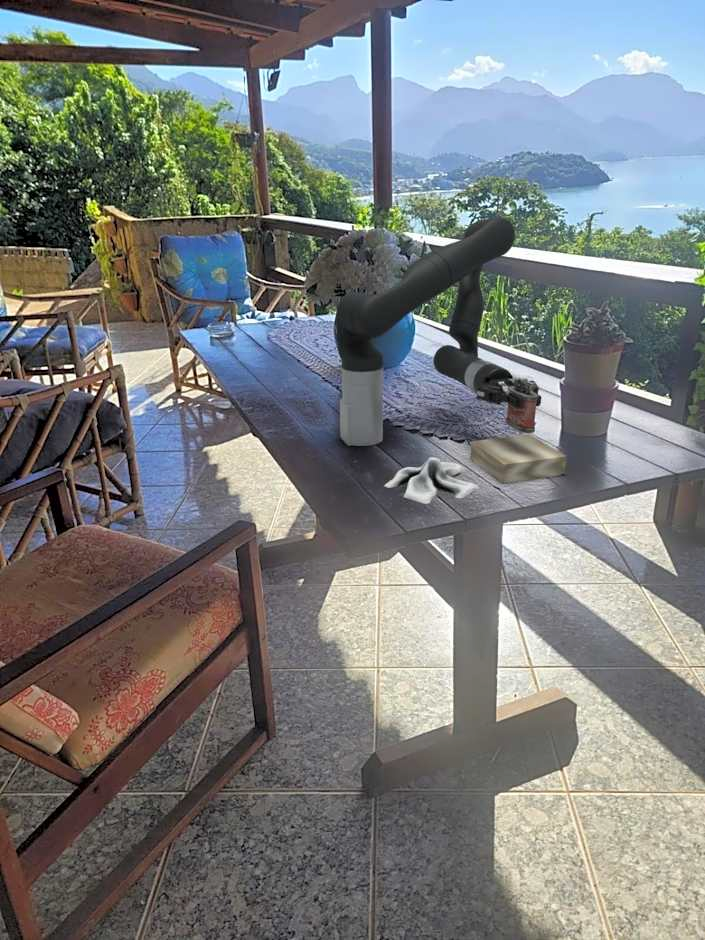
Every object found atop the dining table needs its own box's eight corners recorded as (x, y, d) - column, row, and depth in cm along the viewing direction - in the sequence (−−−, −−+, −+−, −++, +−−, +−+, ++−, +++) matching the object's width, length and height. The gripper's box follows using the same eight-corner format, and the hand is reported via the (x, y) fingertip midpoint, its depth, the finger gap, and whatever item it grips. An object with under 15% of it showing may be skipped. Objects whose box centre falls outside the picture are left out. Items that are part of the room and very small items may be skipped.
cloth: (453, 462, 143) (454, 435, 141) (499, 495, 127) (501, 465, 125) (356, 476, 136) (355, 448, 134) (391, 514, 120) (391, 482, 118)
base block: (502, 483, 130) (504, 464, 129) (470, 458, 143) (471, 441, 141) (564, 474, 134) (566, 456, 133) (527, 451, 147) (529, 434, 145)
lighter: (501, 421, 138) (505, 375, 134) (515, 419, 140) (519, 373, 136) (524, 434, 131) (528, 385, 128) (538, 431, 133) (543, 383, 129)
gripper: (459, 366, 142) (499, 387, 127) (518, 360, 146) (563, 380, 131) (457, 400, 145) (496, 424, 130) (515, 393, 149) (559, 416, 134)
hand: (529, 402), depth 131 cm, fingers closed on lighter, 3 cm apart
